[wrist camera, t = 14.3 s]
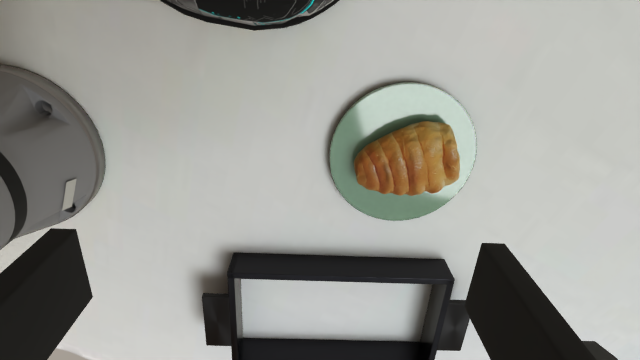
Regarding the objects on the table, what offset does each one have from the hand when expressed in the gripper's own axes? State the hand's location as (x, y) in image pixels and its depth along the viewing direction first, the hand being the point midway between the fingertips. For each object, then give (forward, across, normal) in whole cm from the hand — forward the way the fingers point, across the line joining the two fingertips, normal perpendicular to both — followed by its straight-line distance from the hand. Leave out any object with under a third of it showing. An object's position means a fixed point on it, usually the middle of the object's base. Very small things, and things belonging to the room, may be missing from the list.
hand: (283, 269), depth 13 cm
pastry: (+24, +11, -5) cm, 27 cm away
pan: (+25, +5, -24) cm, 35 cm away
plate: (+25, +10, -5) cm, 27 cm away
